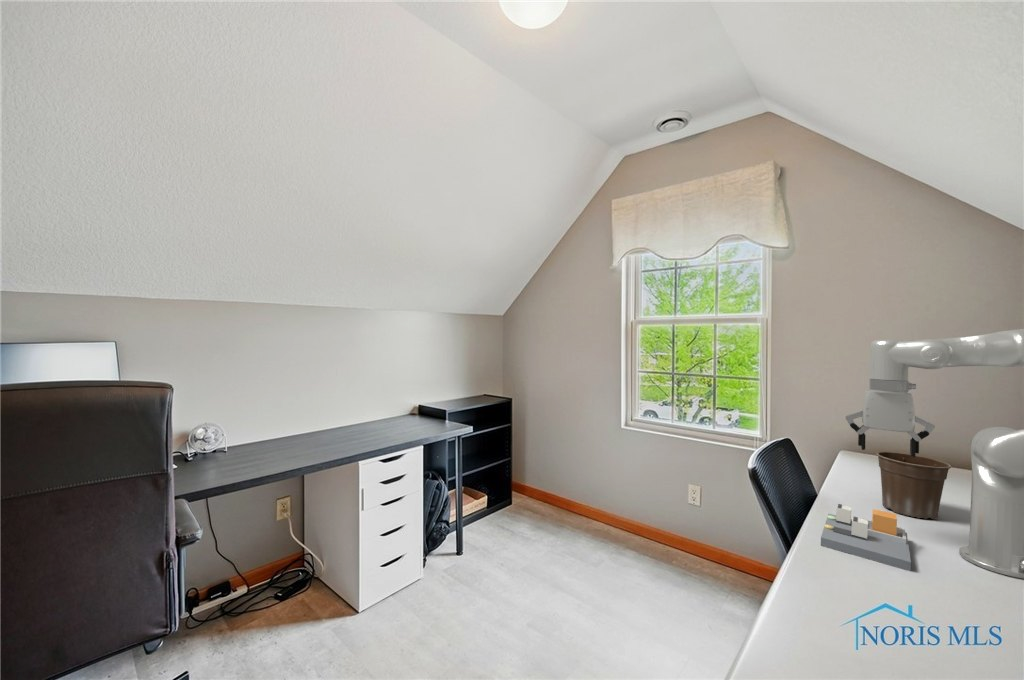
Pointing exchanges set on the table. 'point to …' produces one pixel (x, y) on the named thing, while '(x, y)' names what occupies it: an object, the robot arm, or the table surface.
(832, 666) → the table surface
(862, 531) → the cube with dark stripe
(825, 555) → the table surface
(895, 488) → the plant pot
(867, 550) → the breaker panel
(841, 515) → the toggle
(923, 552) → the table surface
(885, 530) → the cap
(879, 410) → the robot arm
